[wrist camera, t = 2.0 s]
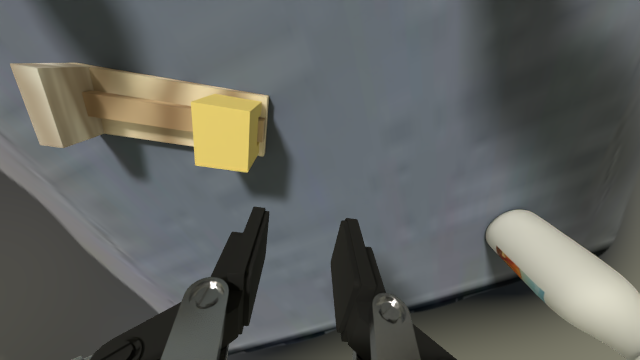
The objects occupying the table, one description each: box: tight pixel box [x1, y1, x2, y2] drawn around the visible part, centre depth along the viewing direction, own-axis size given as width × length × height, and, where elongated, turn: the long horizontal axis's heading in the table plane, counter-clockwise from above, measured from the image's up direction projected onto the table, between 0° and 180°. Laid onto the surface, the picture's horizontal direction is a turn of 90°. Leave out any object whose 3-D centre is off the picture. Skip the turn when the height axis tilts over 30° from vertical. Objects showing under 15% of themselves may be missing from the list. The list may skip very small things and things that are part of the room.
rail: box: [10, 63, 269, 157], centre depth 25 cm, size 20×7×6 cm, turn 80°
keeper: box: [191, 94, 262, 173], centre depth 24 cm, size 5×6×6 cm
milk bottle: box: [486, 209, 640, 360], centre depth 28 cm, size 8×8×20 cm
